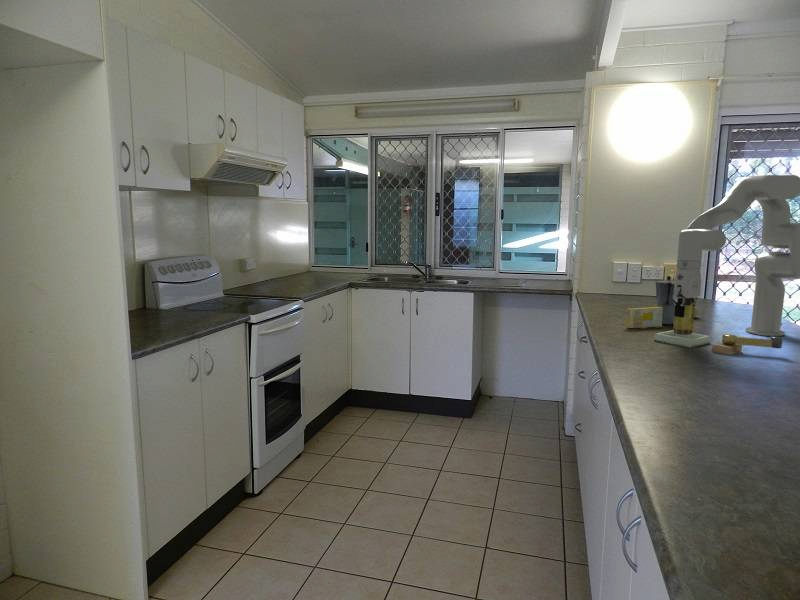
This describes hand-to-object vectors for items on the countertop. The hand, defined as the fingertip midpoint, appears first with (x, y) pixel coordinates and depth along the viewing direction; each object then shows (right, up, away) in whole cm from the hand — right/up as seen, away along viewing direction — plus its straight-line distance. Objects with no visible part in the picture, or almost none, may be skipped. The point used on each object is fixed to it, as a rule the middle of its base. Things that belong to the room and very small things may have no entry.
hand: (684, 315), depth 192 cm
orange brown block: (+7, -12, -13) cm, 19 cm away
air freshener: (+27, -3, +52) cm, 59 cm away
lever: (+14, -9, -15) cm, 23 cm away
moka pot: (+11, -5, +36) cm, 38 cm away
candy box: (-2, -6, +27) cm, 27 cm away
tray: (0, -9, +1) cm, 10 cm away
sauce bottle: (0, -7, +1) cm, 7 cm away
